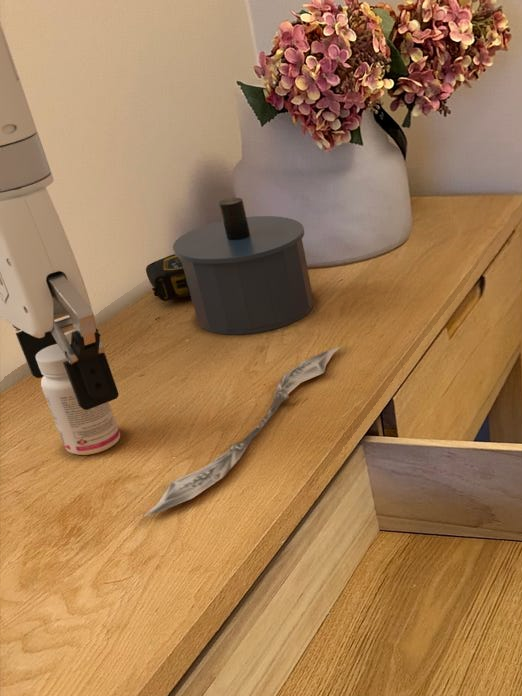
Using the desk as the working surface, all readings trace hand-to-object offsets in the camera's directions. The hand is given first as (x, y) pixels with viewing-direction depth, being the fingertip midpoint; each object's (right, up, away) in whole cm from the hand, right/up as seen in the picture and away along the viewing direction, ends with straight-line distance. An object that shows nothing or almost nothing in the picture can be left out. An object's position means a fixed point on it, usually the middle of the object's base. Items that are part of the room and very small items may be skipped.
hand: (75, 387), depth 82 cm
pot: (+9, +15, +25) cm, 31 cm away
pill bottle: (0, -4, +4) cm, 6 cm away
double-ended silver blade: (+14, -2, +4) cm, 15 cm away
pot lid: (+9, +21, +20) cm, 30 cm away
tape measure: (-1, +18, +31) cm, 36 cm away
